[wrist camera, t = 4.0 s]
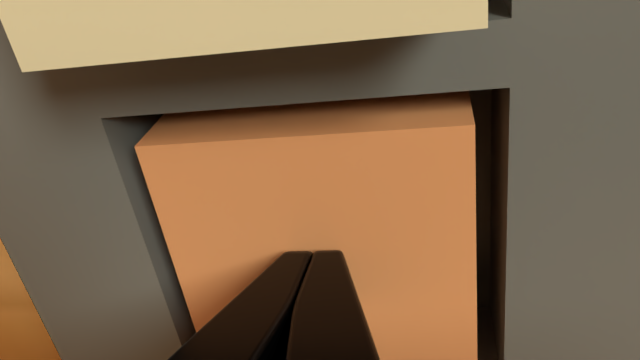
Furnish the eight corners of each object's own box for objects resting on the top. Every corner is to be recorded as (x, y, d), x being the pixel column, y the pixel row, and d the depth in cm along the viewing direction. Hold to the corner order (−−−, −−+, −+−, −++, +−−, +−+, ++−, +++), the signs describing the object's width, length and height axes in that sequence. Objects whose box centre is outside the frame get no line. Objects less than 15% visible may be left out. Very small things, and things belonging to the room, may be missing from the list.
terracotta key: (469, 302, 11) (477, 381, 9) (238, 303, 11) (210, 376, 10) (465, 72, 8) (475, 125, 7) (181, 94, 9) (134, 146, 8)
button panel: (587, 480, 14) (620, 609, 12) (204, 461, 16) (167, 569, 14) (752, -684, 5) (1005, -1079, 3) (-132, -420, 7) (-390, -537, 5)
